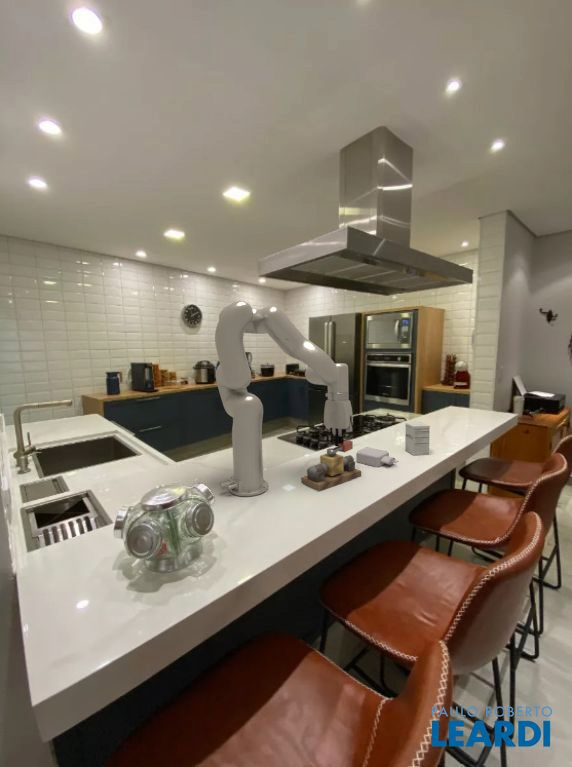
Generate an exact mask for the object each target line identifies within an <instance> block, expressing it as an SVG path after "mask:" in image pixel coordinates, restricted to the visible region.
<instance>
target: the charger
mask: <svg viewBox="0 0 572 767" xmlns="http://www.w3.org/2000/svg"><path fill="white" fill-rule="evenodd" d="M355 454H356V455H355V456H356V457H355V459H356V461H355V463H358V462H359V464H363V465H368V466H371V467H374V468H378V467H379V468H380V467H382V466H383V465H391V466H392V465H393V464H397V463H399V462H400V461H399V460H396V458H395V457H392V456H390V452H389V451H387V450H383V449H378V448H373V447H369V446H366V447H364V448H362V449H361V448H360V449H359V450H357V451H356V453H355Z"/></svg>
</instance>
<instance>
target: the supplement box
mask: <svg viewBox="0 0 572 767" xmlns="http://www.w3.org/2000/svg"><path fill="white" fill-rule="evenodd" d="M430 427H431V426H430V425H429V424H426V423H423V422H421V421H415V422H413V421H412V422H406V423H405V442H404V443H405V446H404V448H405V452H408V453H409V454H411V455H412V456H413V457H414V456H428V455H430V433H431V432H430Z"/></svg>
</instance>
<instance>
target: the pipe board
mask: <svg viewBox="0 0 572 767" xmlns="http://www.w3.org/2000/svg"><path fill="white" fill-rule="evenodd" d="M306 472H307V473H306V475H304V476H302V477H301V478H300V480H301V481H300V483H301V484H302V483H303V485H304V484H305V485H304V486H306V485H307V486H306V487H309V488H311V489H312V490H315V491H317V492H321V491H325V490H328V489H331V488H333V487H336V486H338V485H342V484H344V483H347V482H349V481H352V480H355V479H358V478H360V477H362V470H360V469H358V468H356V461H355V458H354V456H352V455H347V456H344V455H340V454H337V453H336V454H327V453H325V454H321V455H319V464H315V465H312V466H309V467H308V468H307V470H306Z"/></svg>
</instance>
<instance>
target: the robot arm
mask: <svg viewBox="0 0 572 767" xmlns="http://www.w3.org/2000/svg"><path fill="white" fill-rule="evenodd" d="M215 328H216V329H215V332H214V333H215V334H214V343H215V344H214V345H215V348H216V353H217V358H218V362H219V364H218V366H217V367H216V370H215V381H216V384H217V388H218V391H219V395H220V398H221V402H222V405H223V408H224V410H225V412H226V413H227V415H229V416H230V417H232V429H231V440H232V442H231V443H232V463H233V464H232V465H233V466H232V467H233V475H231V476H230V479H229V480H228V481H224V482H220V483H219V488H220V490H224V489H227V491H229V492H230V493H231V494H233V495H235V496H238V497H254V496H258V495H260V494H264V493H265V492H266V491H267V490H268V489H269V482H267V481H266V480H264V463H263V462H264V461H263V460H264V459H263V438H262V437H263V433H262V432H263V431H262V430H263V429H262V428H263V427H262V426H263V420H264V419H263V417H264V405H263V403H262V401H261V399H260V398H259V397H258V396H256V395H255V394H253V393H251V392H248V389H247V387H248V386H250V383H251V381H252V372H251V368H250V365H249V361H248V357H247V354H246V349H245V343H244V336H245V334H254V335H259V334H260V335H264V334H267V335H268V336H269V337H270V338H271V339H272V340H273V342H274V343H275V344H277V346H278V347H279V348H280V349H281V350H282V352H283V353H284V354H286V355H287V356H288V357H291V358H292V359H295V360H297V361H299V362H301V363H303V364H305V365H307V367H306V368H305V371H304V377H305V378H306V380H307V382H309V383H310V384H313V385H318V386H319V385H322V386H327V392H326V393H325V394H324V395H325V397H326V398H327V399H326V400H325V403H324V410H323V411H324V412H323V425H324V426H325V429H327V430H329V431H331V433H332V436H334V439H333V440H334V447H338V443H341V442H343V441H345V440H344V439H345V438H344V436H345V434H347V433H351V432H353V425H354V420H353V419H354V418H353V416H354V415H353V408H352V404H351V400H349V394H350V393H349V365H348V364H347V363H343V362H340V363H338V362H337V363H335V361H334V360H333V359H332V358H331V357H330V356H329V354H327V353H326V352H325V351H324V350H323V349H322V348H321V347H319V346H318V345H316V344H315V343H314V342H312V341H311V340H310V339H308V338H306V336H304V335H303V333H302V332H301V331H300V329H298V328H297V326H296V325H295V324H294V323H293V322H292V320H291V319H290V318H289V317H288V316H287V315H286V314H285V312H284V311H283V310H282V309H281V308H280V307H277V306H275V305H270V306H267V307H266V306H265V307H263V308H261V309H259V308H257V309H255V308H254V309H253V307H252V306H251V304H250V303H248V302H246V301H245V300H237V301H235V302H232V303H230V304H229V305H227V306H225V307H223V309H222V310H221V311H220V313H219V315H218V322H217V325H216V326H215Z"/></svg>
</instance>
